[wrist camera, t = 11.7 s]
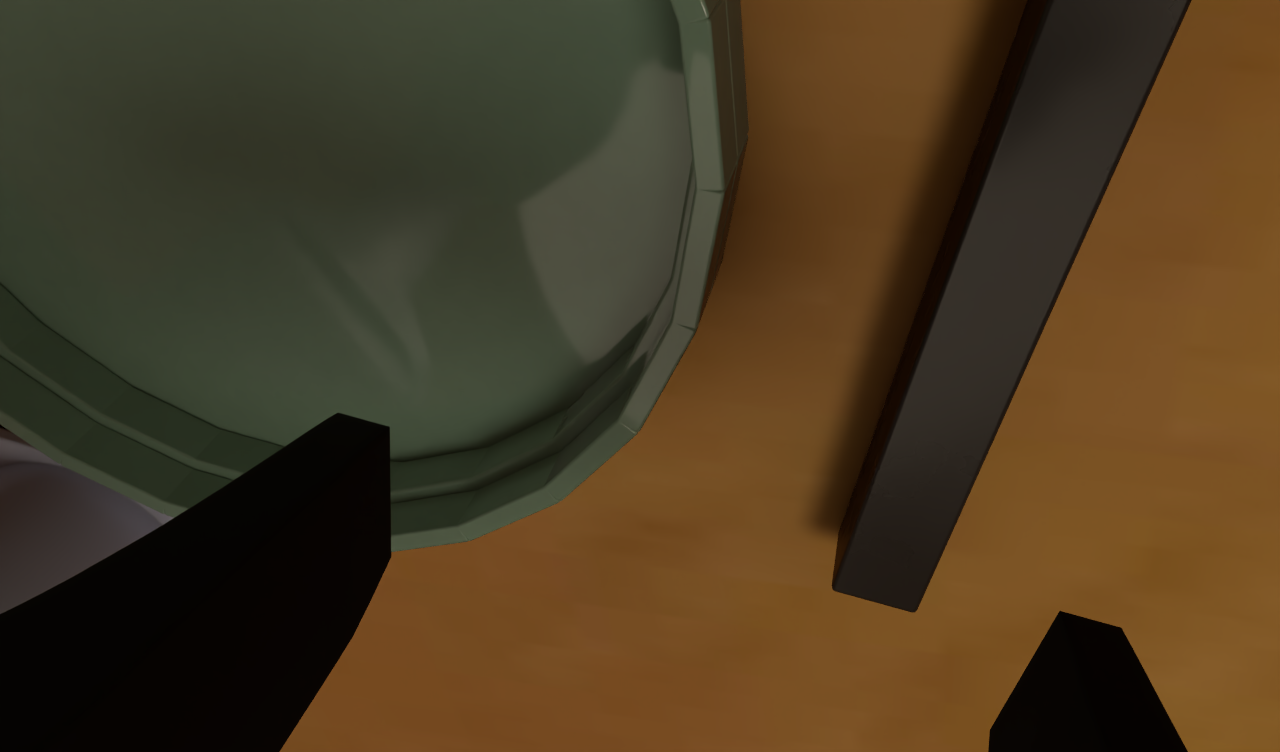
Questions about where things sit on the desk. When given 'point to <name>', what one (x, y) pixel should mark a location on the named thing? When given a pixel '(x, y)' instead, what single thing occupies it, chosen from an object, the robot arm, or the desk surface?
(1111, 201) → the desk surface
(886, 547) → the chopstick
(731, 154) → the green round tray
